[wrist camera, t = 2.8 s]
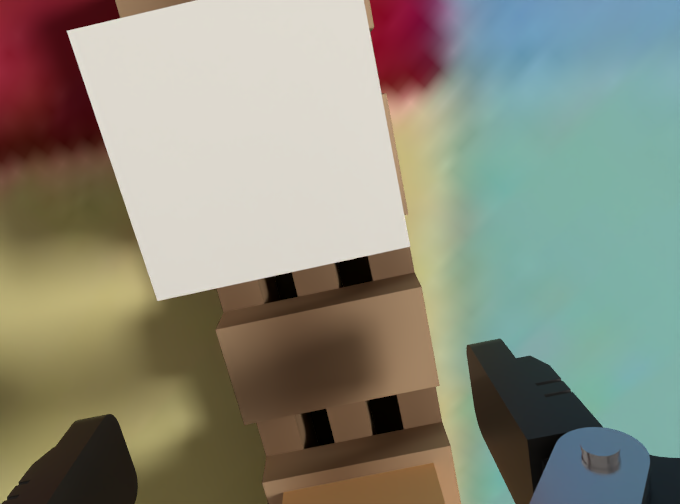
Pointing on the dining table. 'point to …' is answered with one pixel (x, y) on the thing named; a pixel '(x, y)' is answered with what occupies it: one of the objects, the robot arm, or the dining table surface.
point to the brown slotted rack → (333, 363)
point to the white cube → (244, 137)
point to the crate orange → (376, 489)
